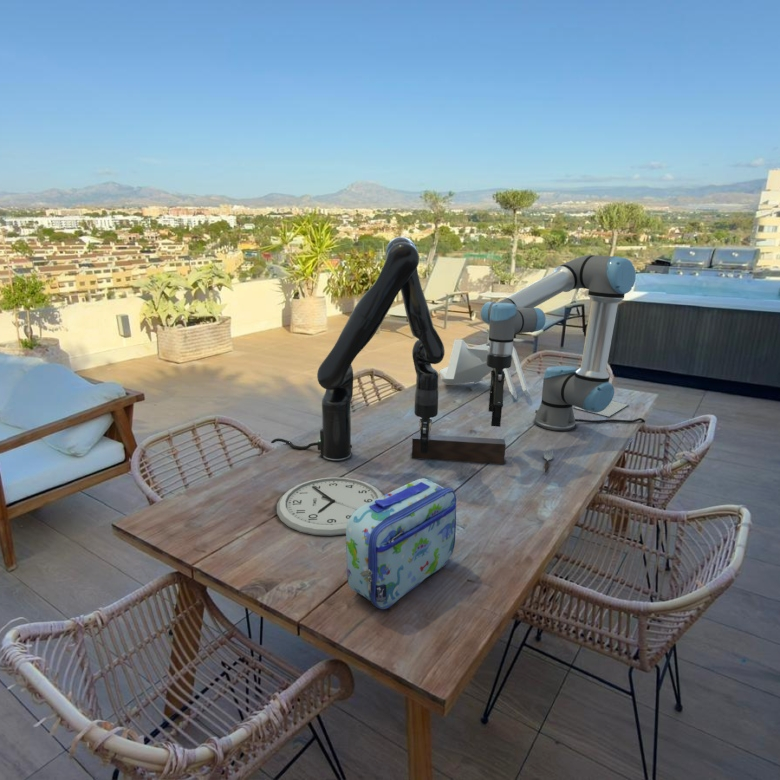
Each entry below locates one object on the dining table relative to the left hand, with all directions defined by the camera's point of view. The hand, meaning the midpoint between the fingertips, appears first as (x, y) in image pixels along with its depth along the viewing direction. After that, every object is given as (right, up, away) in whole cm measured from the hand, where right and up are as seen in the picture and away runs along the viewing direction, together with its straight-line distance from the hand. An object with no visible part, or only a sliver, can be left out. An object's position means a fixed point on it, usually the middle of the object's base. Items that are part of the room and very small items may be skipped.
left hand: (424, 449), depth 174 cm
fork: (+40, -4, -4) cm, 40 cm away
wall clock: (-27, -12, -31) cm, 43 cm away
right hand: (+22, +11, -6) cm, 25 cm away
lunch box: (-9, -22, -61) cm, 65 cm away
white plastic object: (+30, +19, +69) cm, 78 cm away
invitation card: (+80, +12, +53) cm, 97 cm away
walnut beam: (+11, -3, 0) cm, 11 cm away
